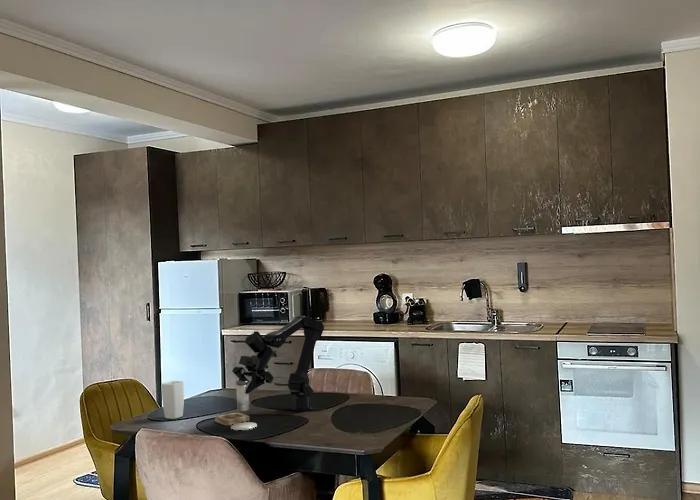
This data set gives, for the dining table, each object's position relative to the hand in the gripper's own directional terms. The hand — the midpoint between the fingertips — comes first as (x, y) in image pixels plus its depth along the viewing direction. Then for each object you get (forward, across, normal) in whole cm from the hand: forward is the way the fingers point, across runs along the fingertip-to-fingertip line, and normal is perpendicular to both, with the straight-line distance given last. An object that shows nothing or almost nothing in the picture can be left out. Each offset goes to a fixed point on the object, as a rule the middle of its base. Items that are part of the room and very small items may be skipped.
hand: (241, 392), depth 250 cm
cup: (+13, -38, +6) cm, 41 cm away
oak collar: (+7, -11, +12) cm, 18 cm away
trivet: (+9, 0, +10) cm, 13 cm away
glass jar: (+4, 0, +5) cm, 7 cm away
